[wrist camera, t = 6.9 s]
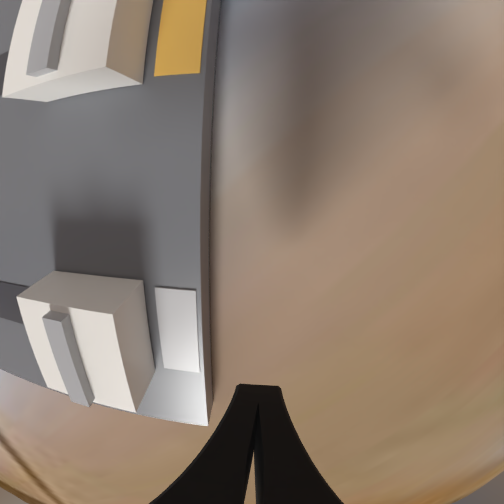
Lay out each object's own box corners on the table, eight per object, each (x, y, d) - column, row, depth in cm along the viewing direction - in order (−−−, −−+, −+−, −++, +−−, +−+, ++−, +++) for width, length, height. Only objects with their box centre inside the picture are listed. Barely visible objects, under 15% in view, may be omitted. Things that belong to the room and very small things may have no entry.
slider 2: (74, 354, 14) (41, 394, 11) (53, 270, 12) (7, 302, 9) (155, 371, 14) (131, 422, 10) (142, 280, 12) (105, 323, 9)
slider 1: (46, 102, 10) (-9, 96, 7) (62, 9, 8) (17, -14, 5) (142, 84, 10) (96, 62, 6) (156, -17, 8) (124, -59, 5)
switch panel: (4, 351, 18) (-10, 364, 16) (-15, 22, 10) (-33, 18, 8) (212, 402, 17) (207, 427, 15) (227, -56, 9) (222, -79, 7)
